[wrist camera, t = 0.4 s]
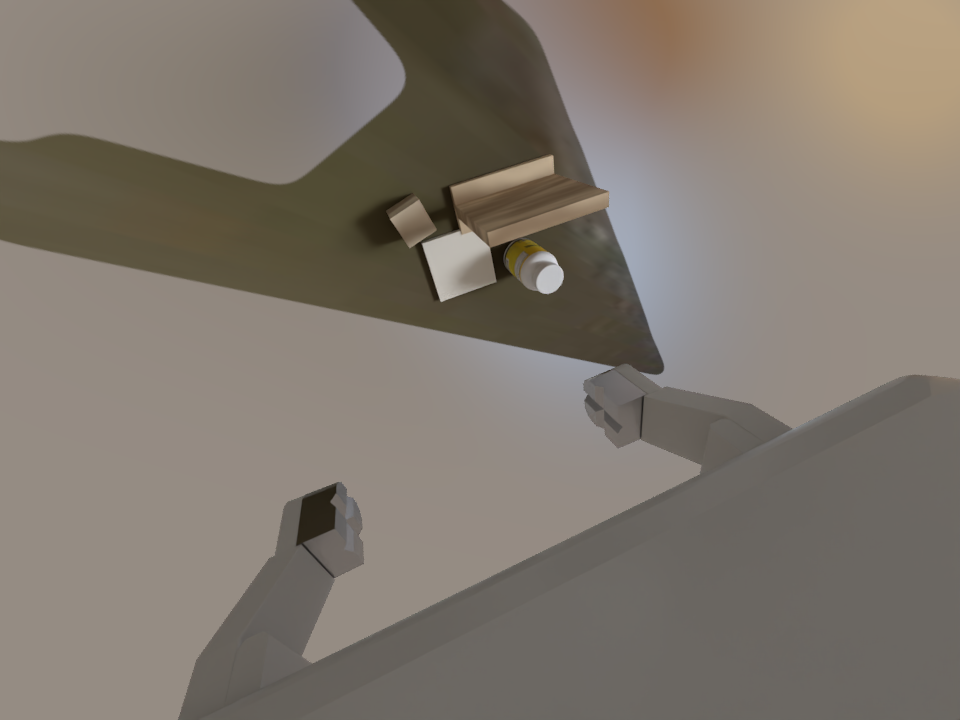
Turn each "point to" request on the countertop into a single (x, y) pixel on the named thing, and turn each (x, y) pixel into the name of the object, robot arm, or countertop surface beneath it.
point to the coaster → (458, 263)
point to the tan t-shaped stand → (522, 201)
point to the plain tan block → (411, 220)
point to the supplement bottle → (533, 266)
